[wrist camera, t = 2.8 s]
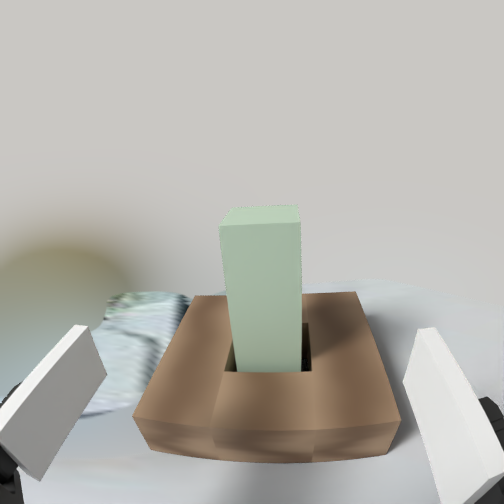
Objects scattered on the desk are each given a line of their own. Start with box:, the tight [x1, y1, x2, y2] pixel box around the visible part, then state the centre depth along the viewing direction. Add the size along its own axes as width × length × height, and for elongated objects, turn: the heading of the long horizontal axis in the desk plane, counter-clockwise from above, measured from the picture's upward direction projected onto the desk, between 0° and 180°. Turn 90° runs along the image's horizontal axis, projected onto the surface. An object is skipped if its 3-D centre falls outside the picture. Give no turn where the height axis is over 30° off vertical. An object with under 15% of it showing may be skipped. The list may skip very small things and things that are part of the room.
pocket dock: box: [132, 292, 401, 463], centre depth 23 cm, size 16×16×4 cm
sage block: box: [219, 205, 302, 372], centre depth 21 cm, size 4×4×14 cm
